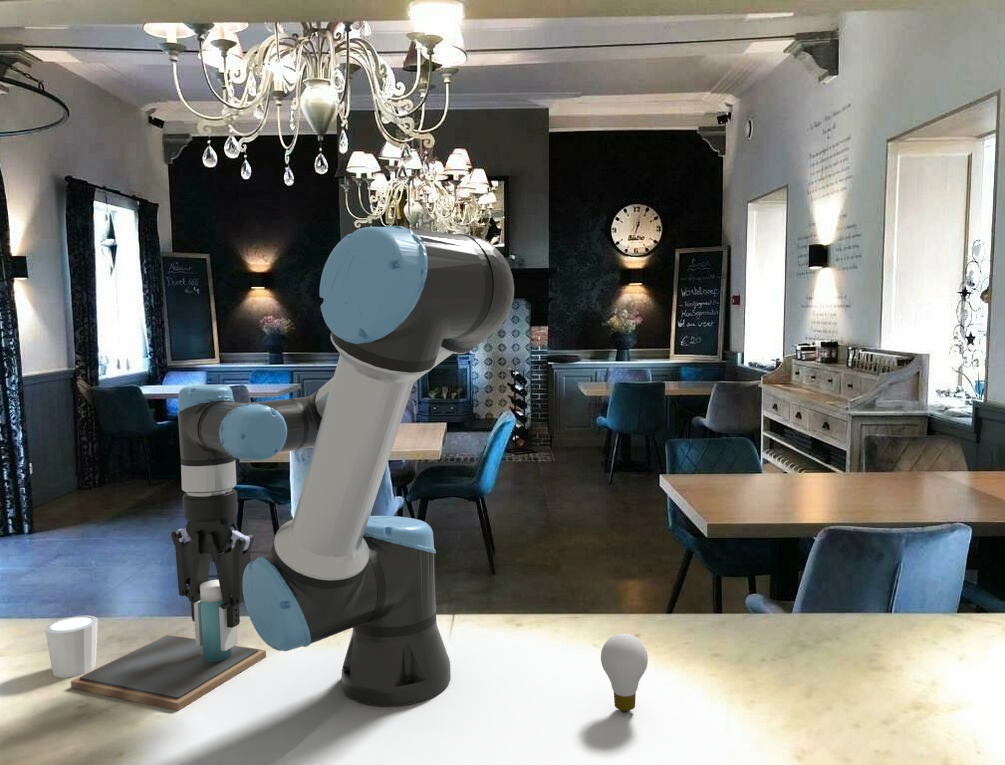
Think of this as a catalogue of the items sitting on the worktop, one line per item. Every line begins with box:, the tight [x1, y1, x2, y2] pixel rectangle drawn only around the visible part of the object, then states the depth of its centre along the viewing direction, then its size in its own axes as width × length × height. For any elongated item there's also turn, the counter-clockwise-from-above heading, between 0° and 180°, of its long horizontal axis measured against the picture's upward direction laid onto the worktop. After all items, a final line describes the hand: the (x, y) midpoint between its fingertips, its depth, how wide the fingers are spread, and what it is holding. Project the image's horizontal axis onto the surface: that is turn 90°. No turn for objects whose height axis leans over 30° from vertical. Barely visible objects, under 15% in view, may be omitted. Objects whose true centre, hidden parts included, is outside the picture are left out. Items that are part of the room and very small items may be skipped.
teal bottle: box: [200, 579, 232, 662], centre depth 115 cm, size 4×4×11 cm
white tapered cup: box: [44, 615, 98, 678], centre depth 115 cm, size 7×7×7 cm
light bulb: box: [600, 633, 649, 714], centre depth 98 cm, size 6×6×10 cm
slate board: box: [70, 634, 267, 711], centre depth 113 cm, size 20×18×1 cm
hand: (216, 644), depth 115 cm, fingers closed on teal bottle, 4 cm apart
